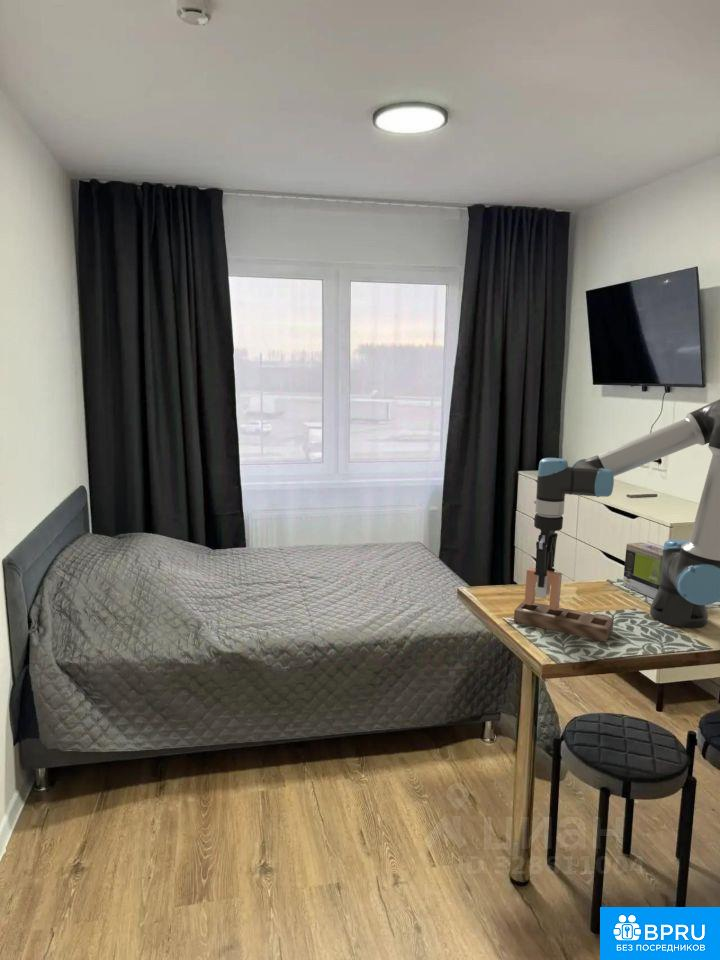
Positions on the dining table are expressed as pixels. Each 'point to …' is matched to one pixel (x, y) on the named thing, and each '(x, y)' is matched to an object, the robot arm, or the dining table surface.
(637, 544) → the grey electronic device
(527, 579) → the pink u-shaped block
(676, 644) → the dining table surface
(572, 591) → the dining table surface
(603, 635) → the brown compartment rack
